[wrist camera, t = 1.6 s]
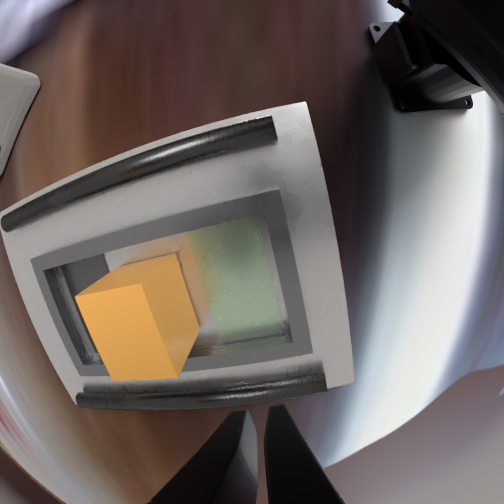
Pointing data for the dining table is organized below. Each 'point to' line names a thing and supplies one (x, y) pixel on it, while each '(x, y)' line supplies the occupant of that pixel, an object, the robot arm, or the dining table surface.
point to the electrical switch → (14, 105)
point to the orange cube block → (141, 319)
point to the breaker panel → (197, 262)
